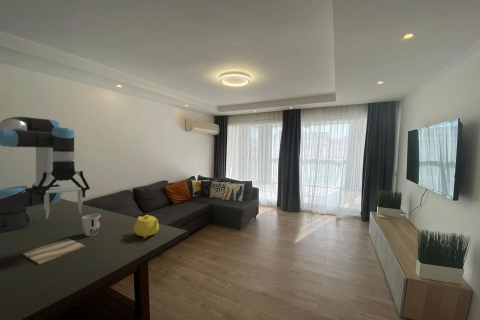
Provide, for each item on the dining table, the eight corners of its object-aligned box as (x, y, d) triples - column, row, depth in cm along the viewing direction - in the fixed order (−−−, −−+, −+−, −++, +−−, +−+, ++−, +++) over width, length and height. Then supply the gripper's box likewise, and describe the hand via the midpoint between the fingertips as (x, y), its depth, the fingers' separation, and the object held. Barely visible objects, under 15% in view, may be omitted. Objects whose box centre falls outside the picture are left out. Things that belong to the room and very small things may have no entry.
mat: (22, 254, 82) (22, 253, 82) (68, 239, 97) (68, 238, 97) (39, 264, 75) (39, 263, 75) (85, 246, 90) (85, 245, 90)
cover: (47, 211, 89) (47, 187, 89) (79, 207, 97) (79, 185, 97) (46, 218, 81) (45, 192, 80) (81, 213, 89) (81, 189, 88)
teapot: (166, 234, 105) (166, 216, 105) (148, 242, 96) (148, 222, 95) (146, 227, 114) (146, 210, 114) (128, 234, 104) (128, 215, 104)
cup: (90, 238, 99) (90, 219, 98) (77, 236, 100) (77, 218, 100) (104, 231, 107) (104, 214, 106) (92, 230, 108) (92, 213, 108)
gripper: (24, 161, 77) (24, 213, 78) (96, 160, 94) (96, 203, 94) (26, 160, 82) (27, 209, 83) (94, 160, 99) (94, 200, 100)
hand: (64, 206), depth 89 cm, fingers closed on cover, 12 cm apart
